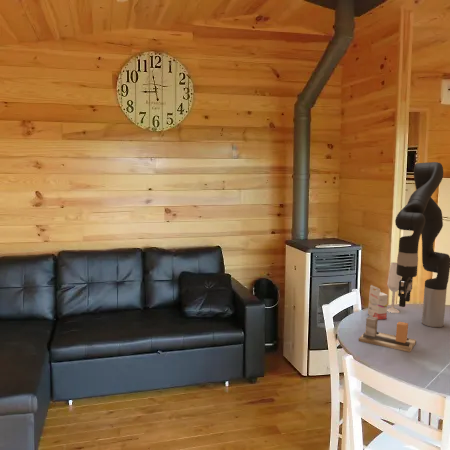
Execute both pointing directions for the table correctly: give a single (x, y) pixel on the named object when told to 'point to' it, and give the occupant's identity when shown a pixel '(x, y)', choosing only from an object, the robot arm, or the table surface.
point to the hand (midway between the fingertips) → (404, 303)
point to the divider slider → (401, 332)
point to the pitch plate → (383, 337)
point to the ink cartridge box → (377, 303)
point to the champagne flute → (393, 285)
